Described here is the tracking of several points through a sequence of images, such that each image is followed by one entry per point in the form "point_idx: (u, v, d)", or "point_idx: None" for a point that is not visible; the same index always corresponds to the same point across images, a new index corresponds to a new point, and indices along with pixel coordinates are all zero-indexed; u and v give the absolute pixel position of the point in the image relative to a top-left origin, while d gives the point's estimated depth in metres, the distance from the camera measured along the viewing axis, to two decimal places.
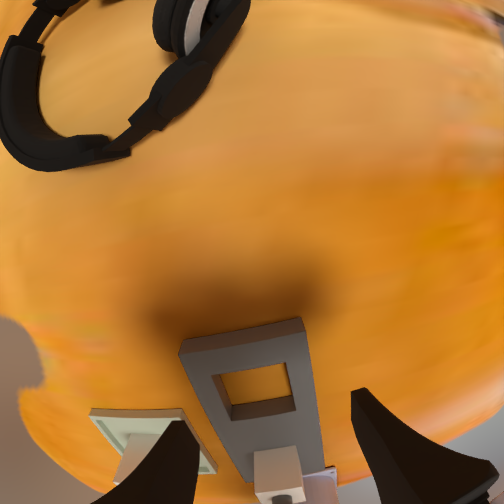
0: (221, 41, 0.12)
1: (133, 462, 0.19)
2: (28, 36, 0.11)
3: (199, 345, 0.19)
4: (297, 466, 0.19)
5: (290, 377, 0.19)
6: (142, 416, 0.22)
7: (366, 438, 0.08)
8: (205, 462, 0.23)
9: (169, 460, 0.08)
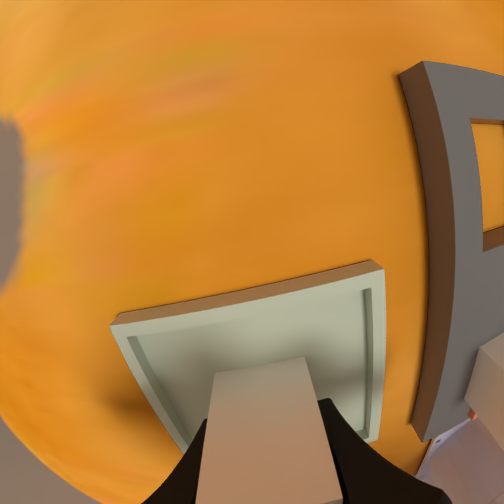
0: None
1: (251, 439, 0.08)
2: None
3: None
4: None
5: None
6: (278, 292, 0.10)
7: None
8: (375, 414, 0.12)
9: None
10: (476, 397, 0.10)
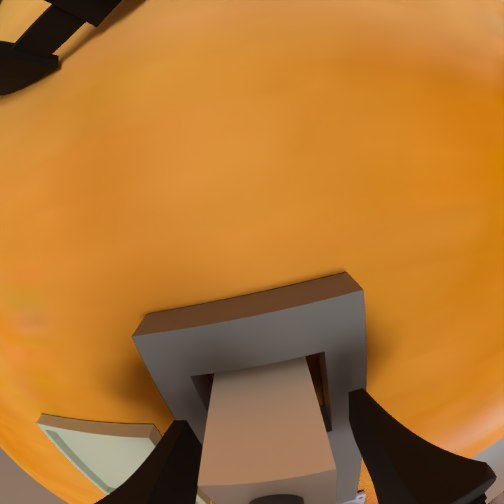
0: None
1: (250, 416, 0.09)
2: None
3: (169, 321, 0.11)
4: None
5: (330, 378, 0.11)
6: (98, 431, 0.13)
7: (363, 439, 0.08)
8: None
9: (172, 460, 0.08)
10: None
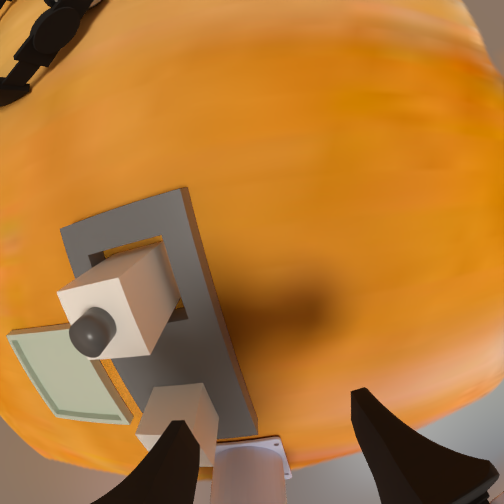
0: None
1: (104, 267, 0.14)
2: None
3: None
4: (195, 408, 0.16)
5: (170, 259, 0.16)
6: (44, 330, 0.19)
7: (366, 438, 0.08)
8: (112, 404, 0.20)
9: (169, 460, 0.08)
10: None
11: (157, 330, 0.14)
